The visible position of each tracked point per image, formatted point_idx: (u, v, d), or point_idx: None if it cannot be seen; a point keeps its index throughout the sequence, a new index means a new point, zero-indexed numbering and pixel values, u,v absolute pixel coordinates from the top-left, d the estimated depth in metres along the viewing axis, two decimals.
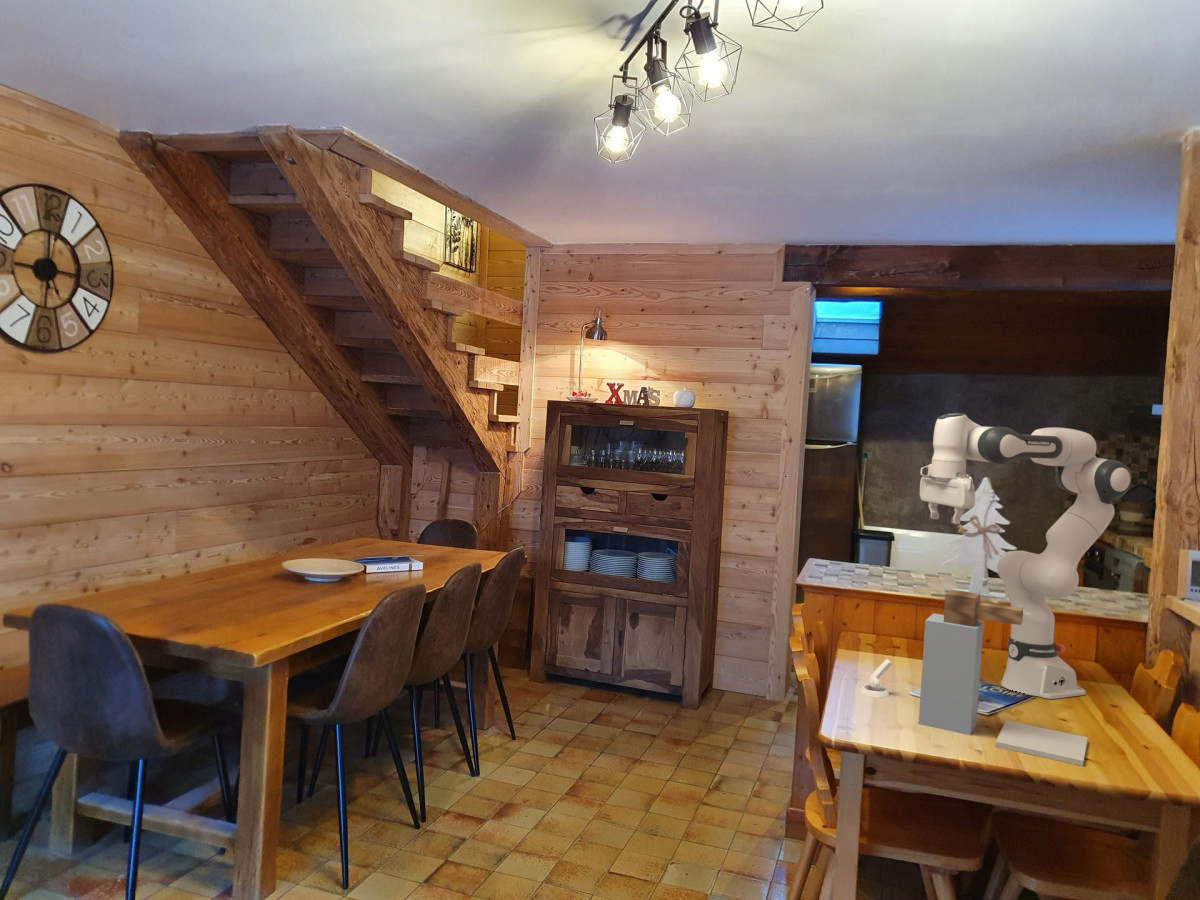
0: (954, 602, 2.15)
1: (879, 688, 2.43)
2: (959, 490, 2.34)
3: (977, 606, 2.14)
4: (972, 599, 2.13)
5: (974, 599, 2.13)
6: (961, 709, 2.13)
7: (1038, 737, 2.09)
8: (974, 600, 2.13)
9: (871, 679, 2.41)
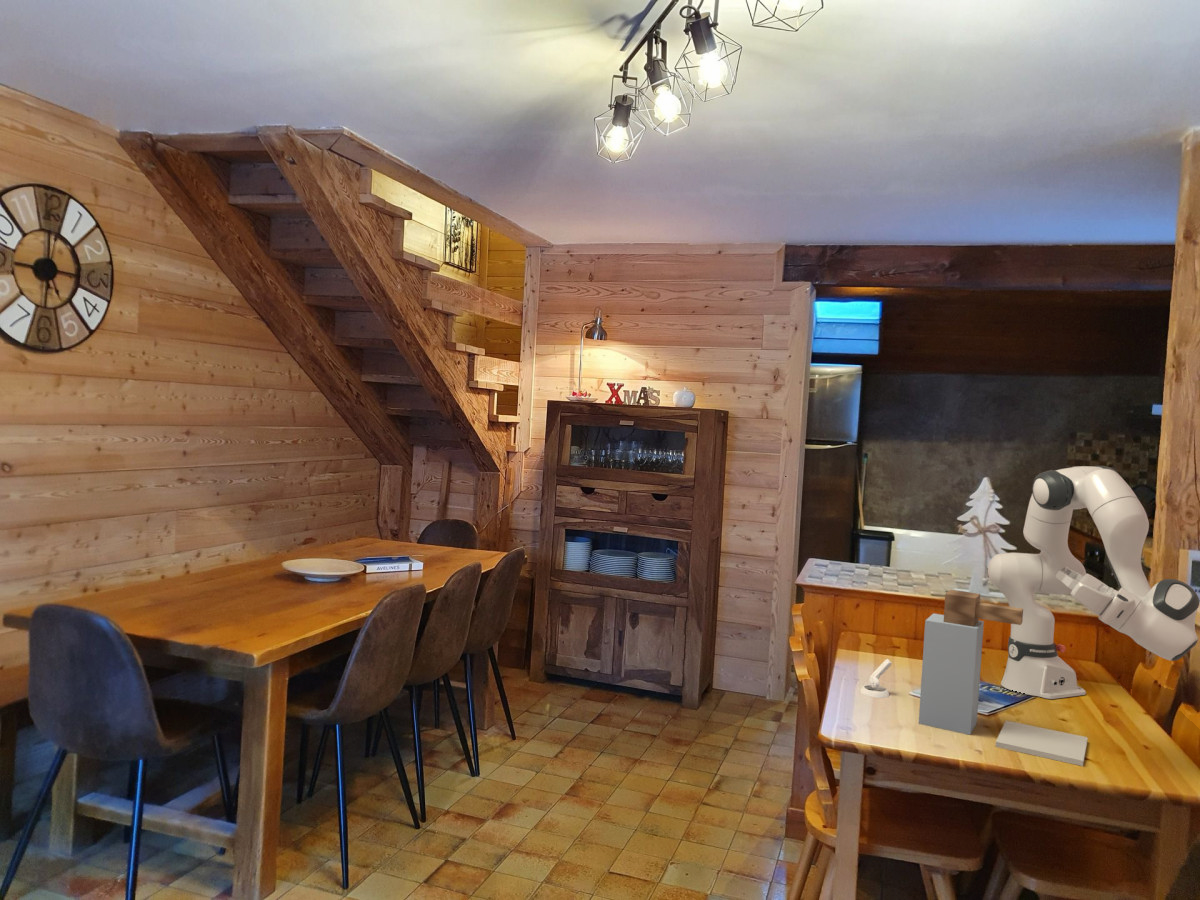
0: (954, 602, 2.15)
1: (879, 688, 2.43)
2: None
3: (977, 606, 2.14)
4: (972, 599, 2.13)
5: (974, 599, 2.13)
6: (961, 709, 2.13)
7: (1038, 737, 2.09)
8: (974, 600, 2.13)
9: (871, 679, 2.41)
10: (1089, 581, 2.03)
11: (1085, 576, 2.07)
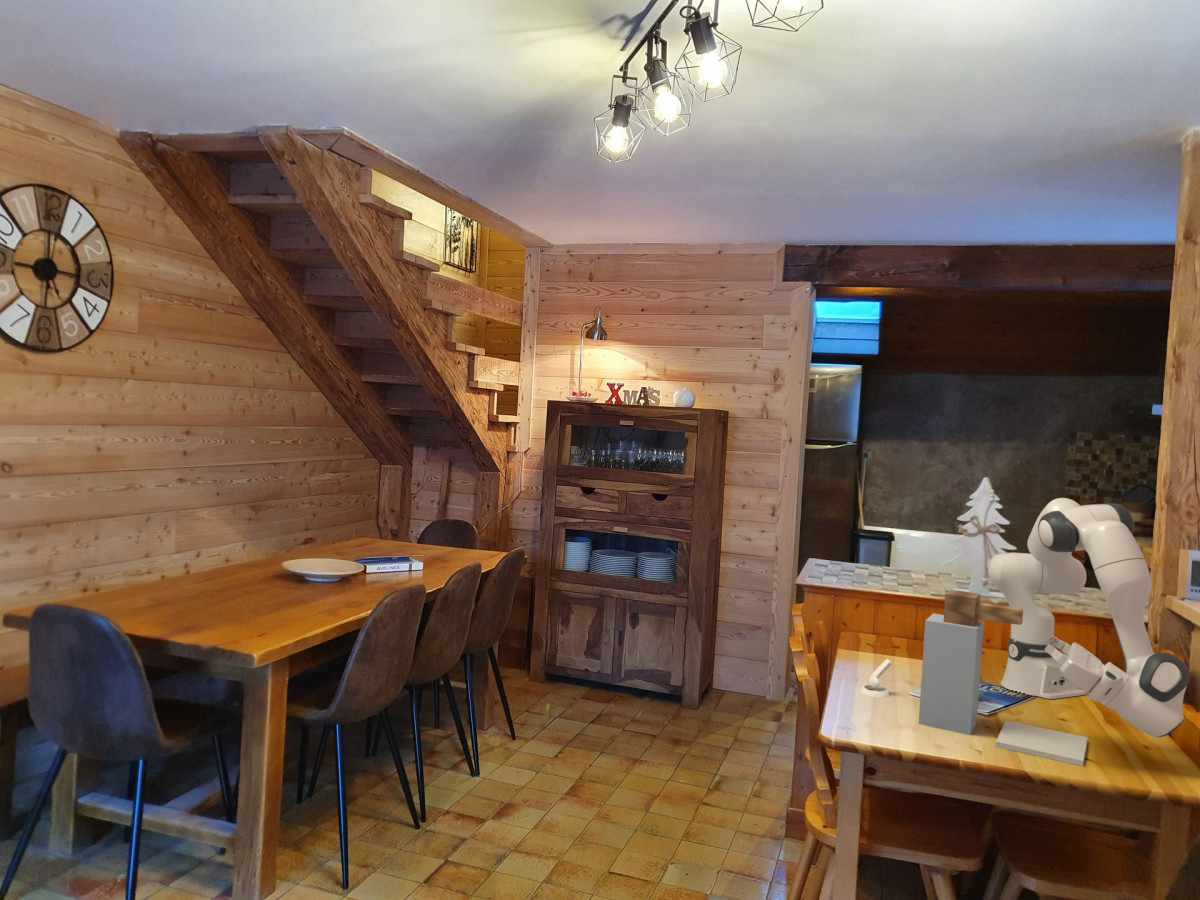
0: (954, 602, 2.15)
1: (879, 688, 2.43)
2: None
3: (977, 606, 2.14)
4: (972, 599, 2.13)
5: (974, 599, 2.13)
6: (961, 709, 2.13)
7: (1038, 737, 2.09)
8: (974, 600, 2.13)
9: (871, 679, 2.41)
10: (1077, 654, 2.04)
11: (1073, 647, 2.07)
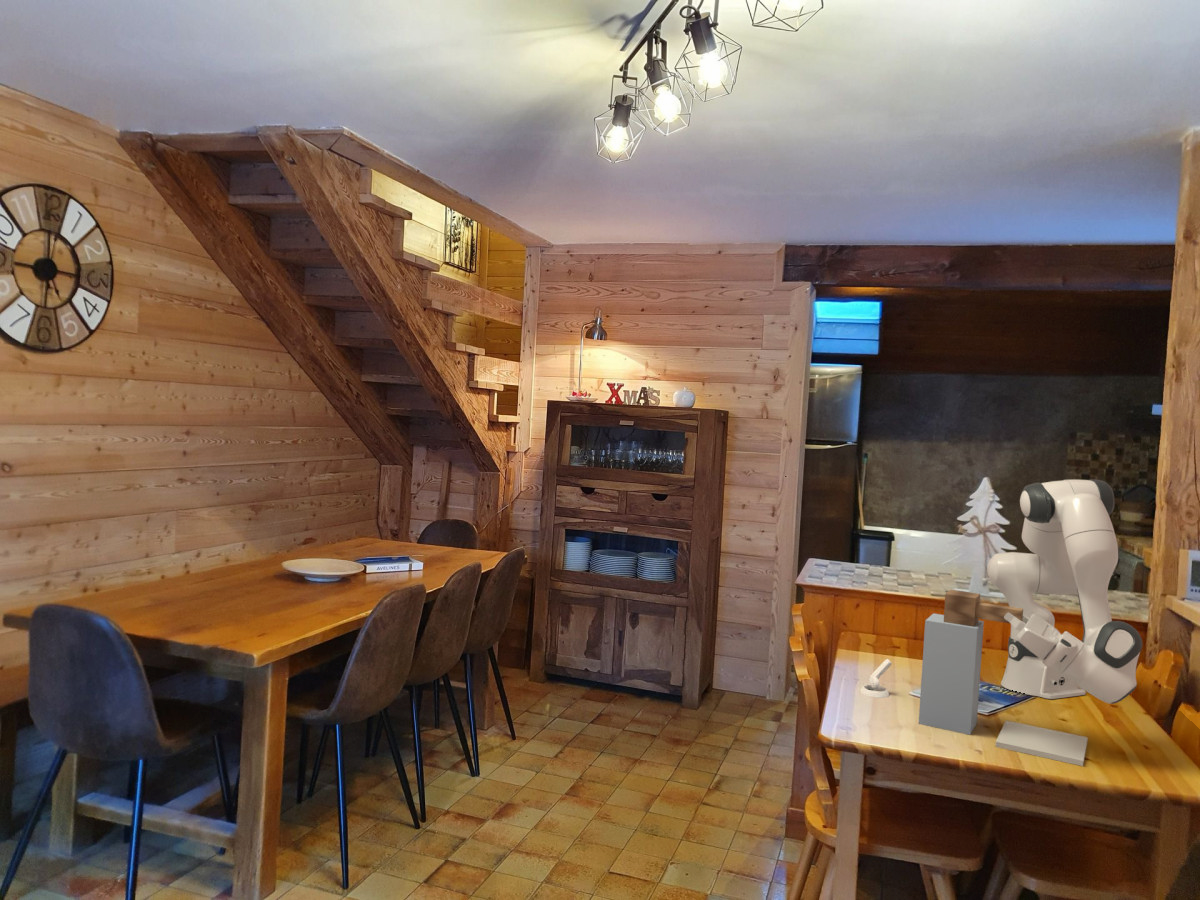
0: (954, 602, 2.15)
1: (879, 688, 2.43)
2: None
3: (977, 606, 2.14)
4: (972, 599, 2.13)
5: (974, 599, 2.13)
6: (961, 709, 2.13)
7: (1038, 737, 2.09)
8: (974, 600, 2.13)
9: (871, 679, 2.41)
10: (1035, 624, 2.08)
11: (1031, 618, 2.12)
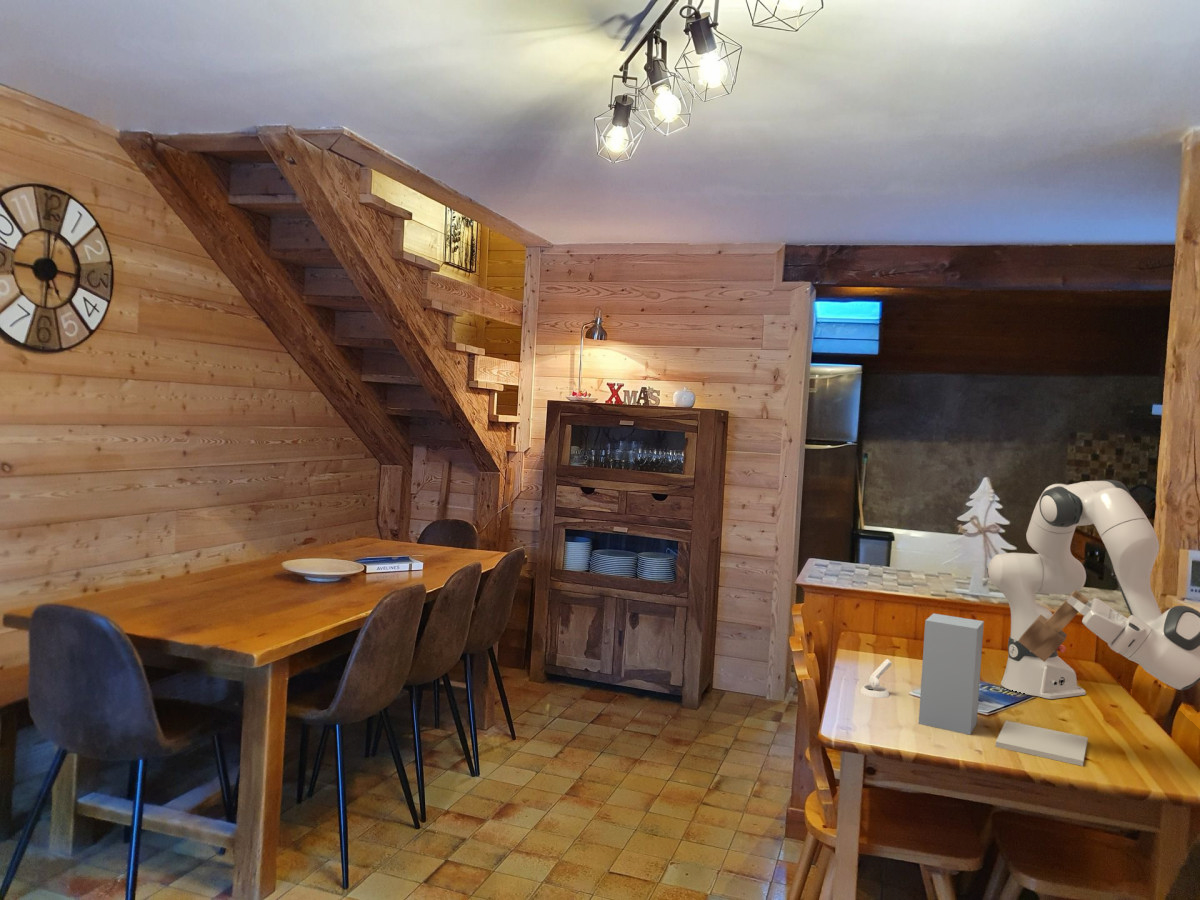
0: (1031, 639, 2.06)
1: (879, 688, 2.43)
2: None
3: (1048, 624, 2.06)
4: (1037, 623, 2.05)
5: (1038, 621, 2.05)
6: (961, 709, 2.13)
7: (1038, 737, 2.09)
8: (1039, 622, 2.05)
9: (871, 679, 2.41)
10: (1099, 608, 2.01)
11: (1094, 602, 2.05)
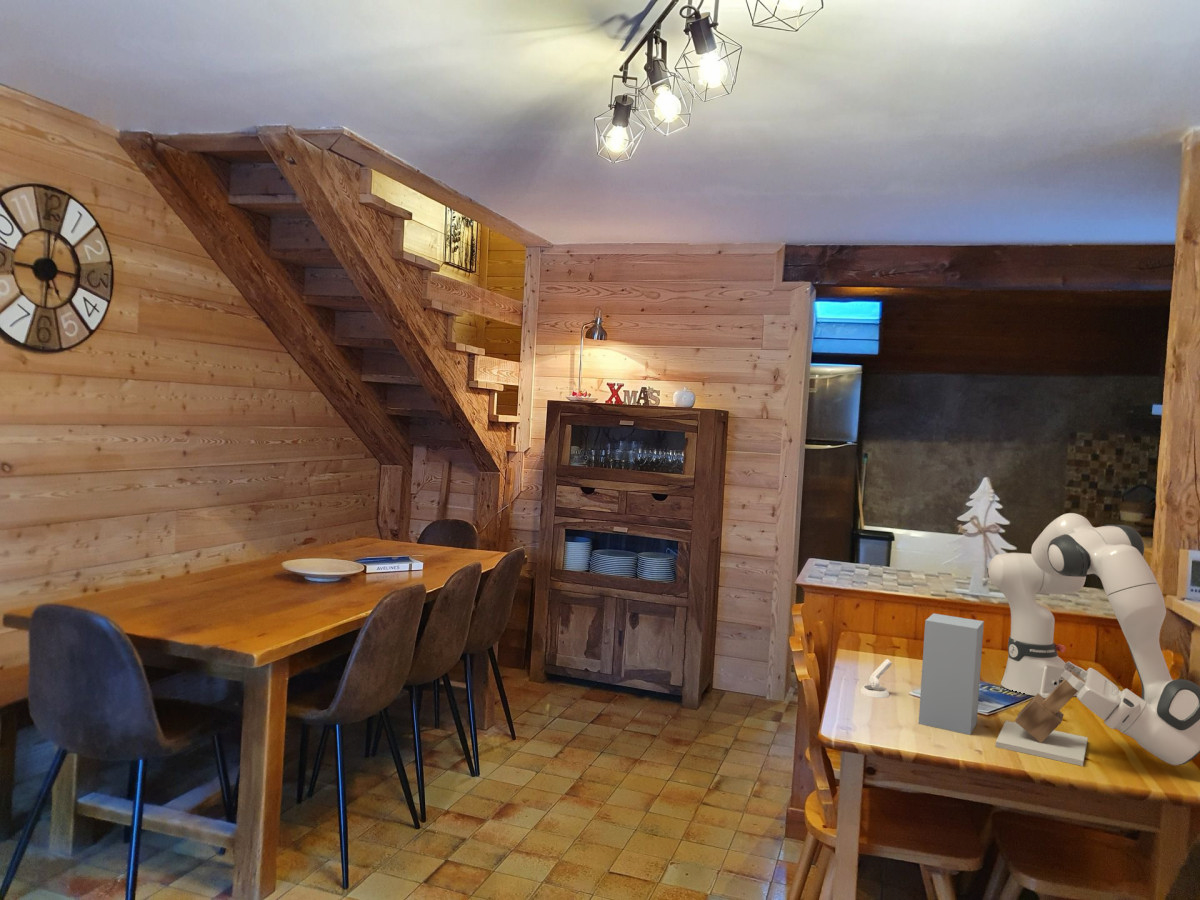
0: (1027, 720, 2.07)
1: (879, 688, 2.43)
2: None
3: (1044, 704, 2.06)
4: (1034, 704, 2.06)
5: (1035, 702, 2.06)
6: (961, 709, 2.13)
7: None
8: (1036, 703, 2.06)
9: (871, 679, 2.41)
10: (1094, 681, 2.02)
11: (1089, 673, 2.06)
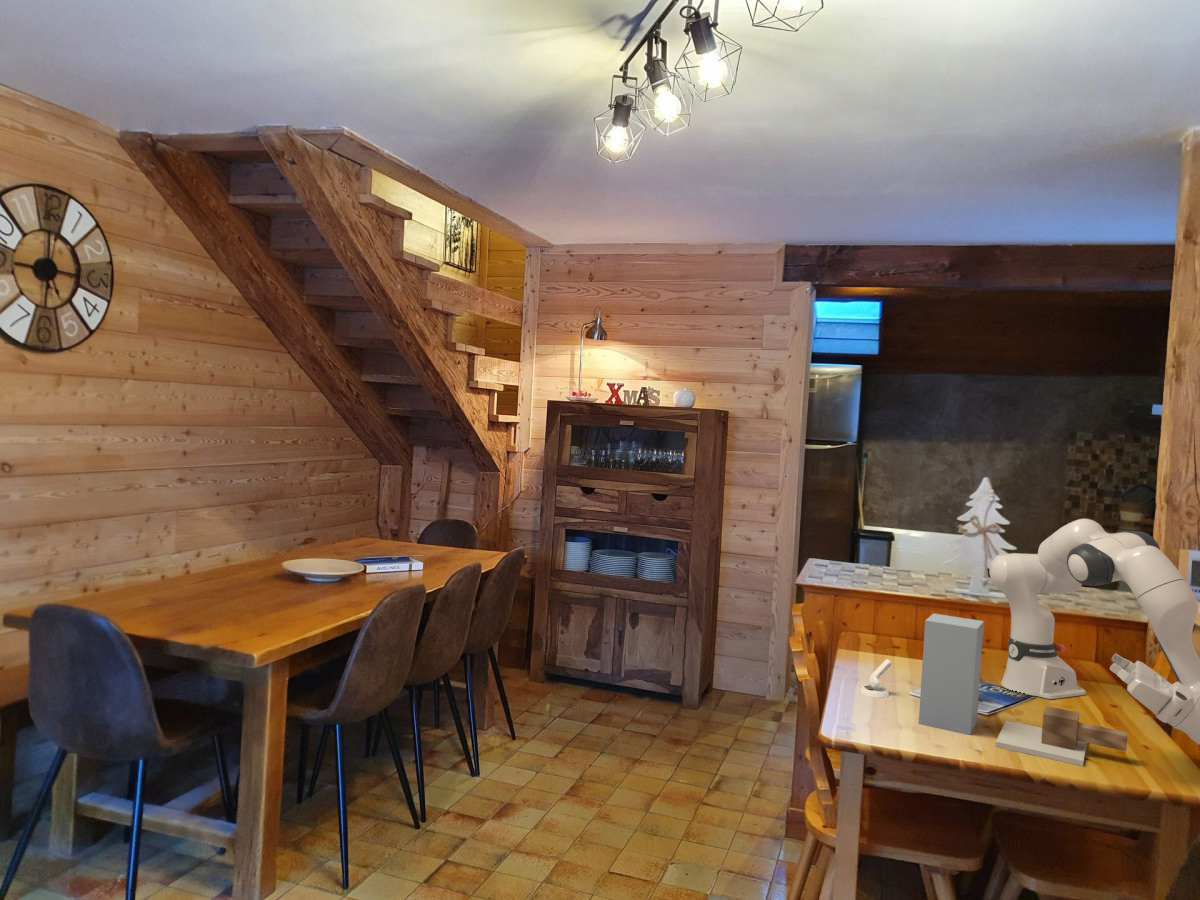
0: (1053, 723, 2.04)
1: (879, 688, 2.43)
2: None
3: (1078, 728, 2.03)
4: (1073, 721, 2.02)
5: (1075, 721, 2.01)
6: (961, 709, 2.13)
7: (1038, 737, 2.09)
8: (1075, 722, 2.01)
9: (871, 679, 2.41)
10: (1144, 674, 1.96)
11: (1138, 666, 2.00)
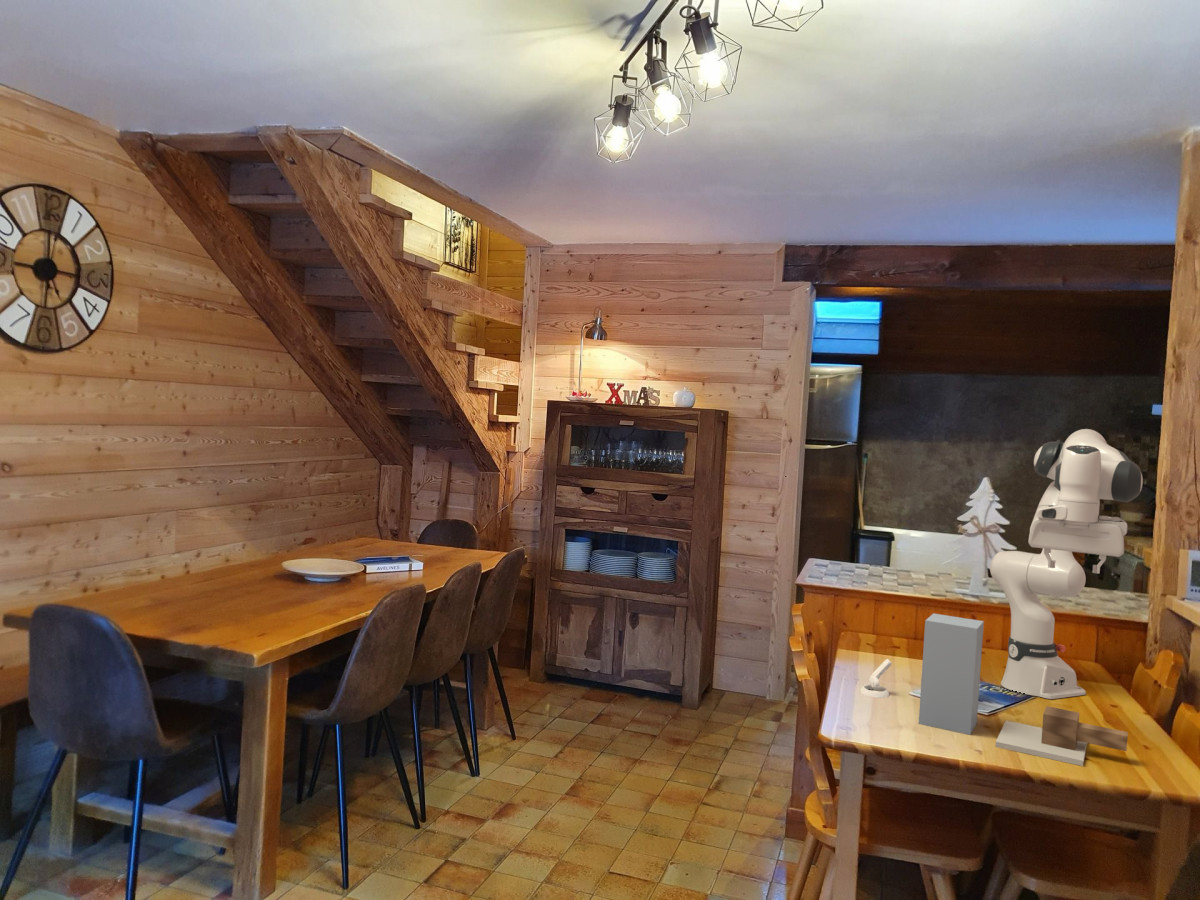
0: (1053, 723, 2.04)
1: (879, 688, 2.43)
2: (1115, 536, 2.05)
3: (1078, 728, 2.03)
4: (1073, 721, 2.02)
5: (1075, 721, 2.01)
6: (961, 709, 2.13)
7: (1038, 737, 2.09)
8: (1075, 722, 2.01)
9: (871, 679, 2.41)
10: None
11: None
